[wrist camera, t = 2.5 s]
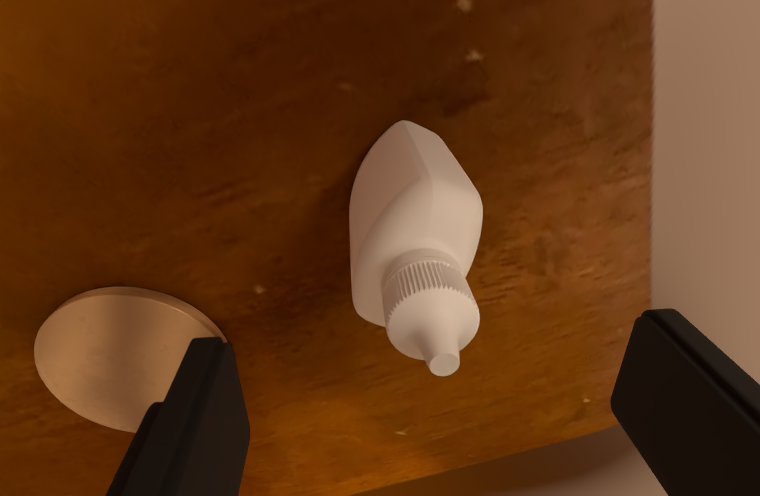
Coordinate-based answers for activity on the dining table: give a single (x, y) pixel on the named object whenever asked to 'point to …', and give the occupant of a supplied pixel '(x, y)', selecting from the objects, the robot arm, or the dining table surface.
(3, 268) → the dining table surface
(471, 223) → the eye dropper bottle
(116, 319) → the cork trivet
